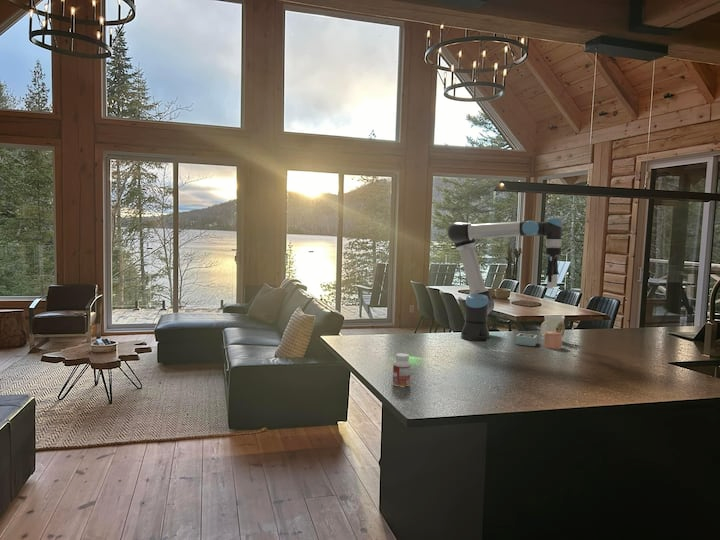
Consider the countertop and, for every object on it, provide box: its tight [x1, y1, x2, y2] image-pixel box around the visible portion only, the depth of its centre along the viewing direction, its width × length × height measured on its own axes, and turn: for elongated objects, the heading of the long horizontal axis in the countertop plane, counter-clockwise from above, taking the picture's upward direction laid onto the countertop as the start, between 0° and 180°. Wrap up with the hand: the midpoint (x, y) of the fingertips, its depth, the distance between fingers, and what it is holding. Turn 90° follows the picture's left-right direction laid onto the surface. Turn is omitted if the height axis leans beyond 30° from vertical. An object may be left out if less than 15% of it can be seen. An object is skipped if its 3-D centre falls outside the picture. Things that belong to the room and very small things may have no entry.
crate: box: [515, 332, 538, 347], centre depth 269 cm, size 9×9×5 cm
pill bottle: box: [392, 352, 411, 387], centre depth 187 cm, size 6×6×11 cm
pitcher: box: [540, 314, 566, 339], centre depth 282 cm, size 11×18×14 cm, turn 122°
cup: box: [543, 331, 564, 350], centre depth 263 cm, size 8×8×8 cm
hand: (552, 287), depth 278 cm, fingers open, 13 cm apart
